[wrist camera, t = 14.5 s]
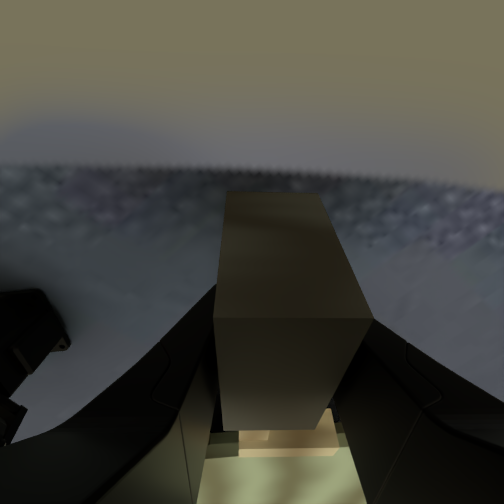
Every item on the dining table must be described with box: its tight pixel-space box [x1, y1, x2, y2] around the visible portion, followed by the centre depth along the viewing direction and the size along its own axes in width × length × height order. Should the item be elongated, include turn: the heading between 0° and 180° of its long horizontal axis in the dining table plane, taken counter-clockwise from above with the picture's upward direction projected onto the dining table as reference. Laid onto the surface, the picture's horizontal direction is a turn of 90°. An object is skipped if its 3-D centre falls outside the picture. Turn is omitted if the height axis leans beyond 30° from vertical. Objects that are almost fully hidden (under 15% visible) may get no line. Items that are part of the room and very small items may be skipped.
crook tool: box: [213, 191, 374, 457], centre depth 13 cm, size 8×20×5 cm, turn 178°
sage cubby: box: [197, 422, 367, 504], centre depth 26 cm, size 18×11×8 cm, turn 95°
